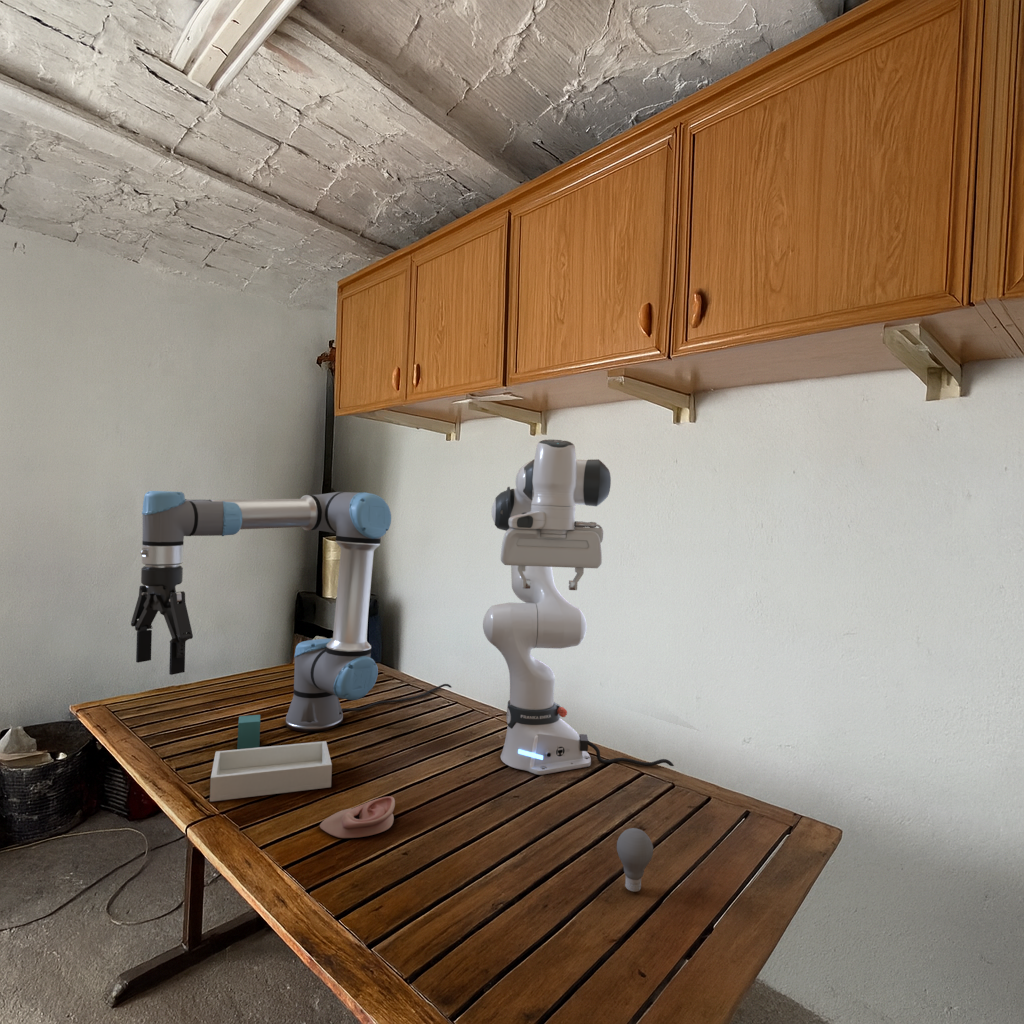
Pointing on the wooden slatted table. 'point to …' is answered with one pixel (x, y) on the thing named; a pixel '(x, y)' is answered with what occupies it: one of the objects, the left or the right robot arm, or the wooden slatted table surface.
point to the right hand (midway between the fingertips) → (549, 589)
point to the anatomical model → (361, 819)
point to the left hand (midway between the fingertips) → (159, 667)
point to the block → (248, 732)
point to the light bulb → (634, 856)
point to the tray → (270, 770)
